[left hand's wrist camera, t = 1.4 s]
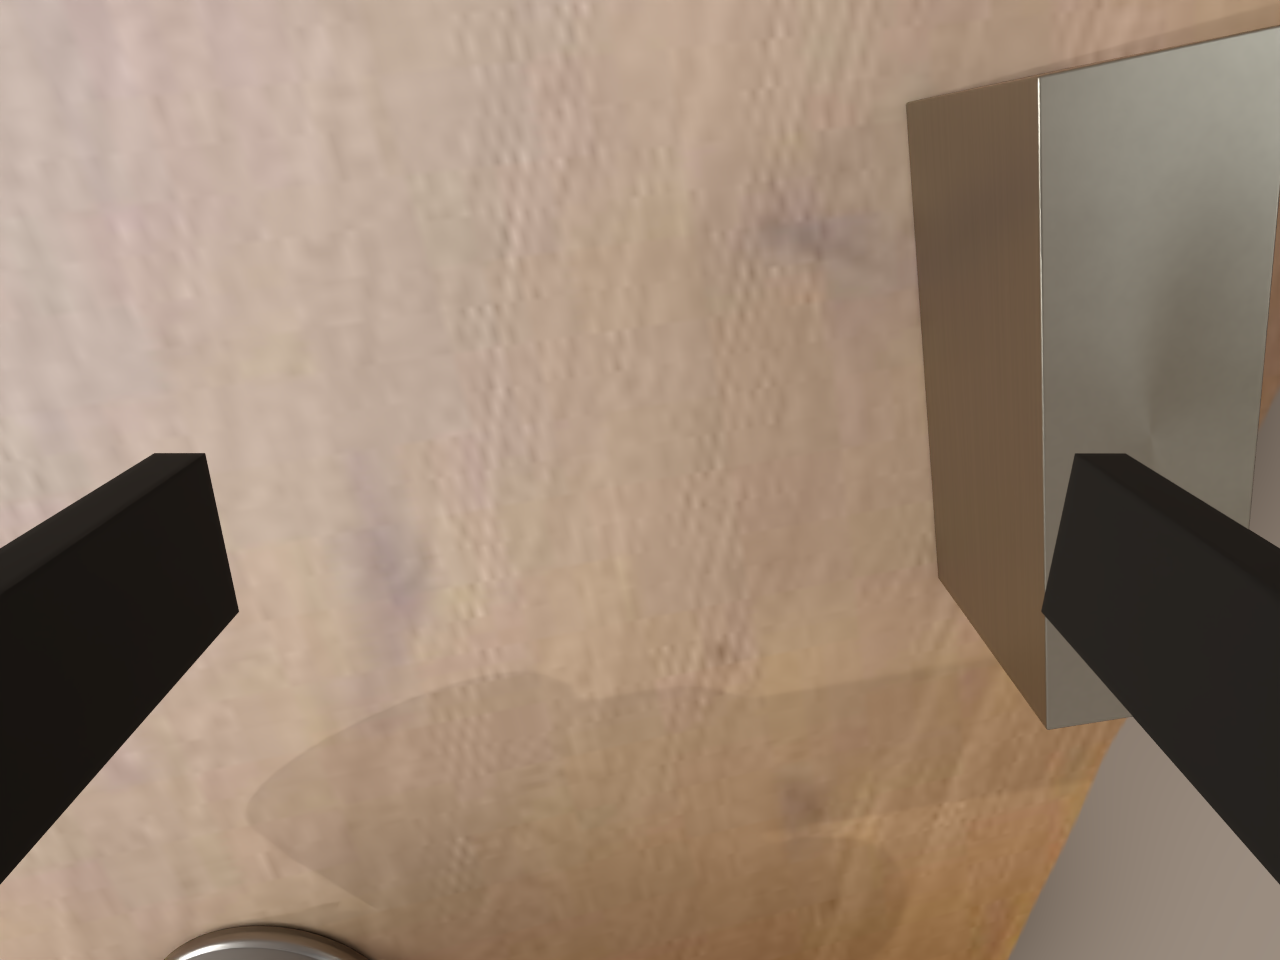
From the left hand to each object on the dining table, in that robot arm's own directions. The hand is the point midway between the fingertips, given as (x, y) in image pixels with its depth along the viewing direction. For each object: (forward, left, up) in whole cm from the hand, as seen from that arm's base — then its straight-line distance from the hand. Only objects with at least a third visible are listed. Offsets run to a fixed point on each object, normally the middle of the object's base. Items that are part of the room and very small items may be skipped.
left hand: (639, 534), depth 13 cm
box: (+3, -15, -21) cm, 26 cm away
